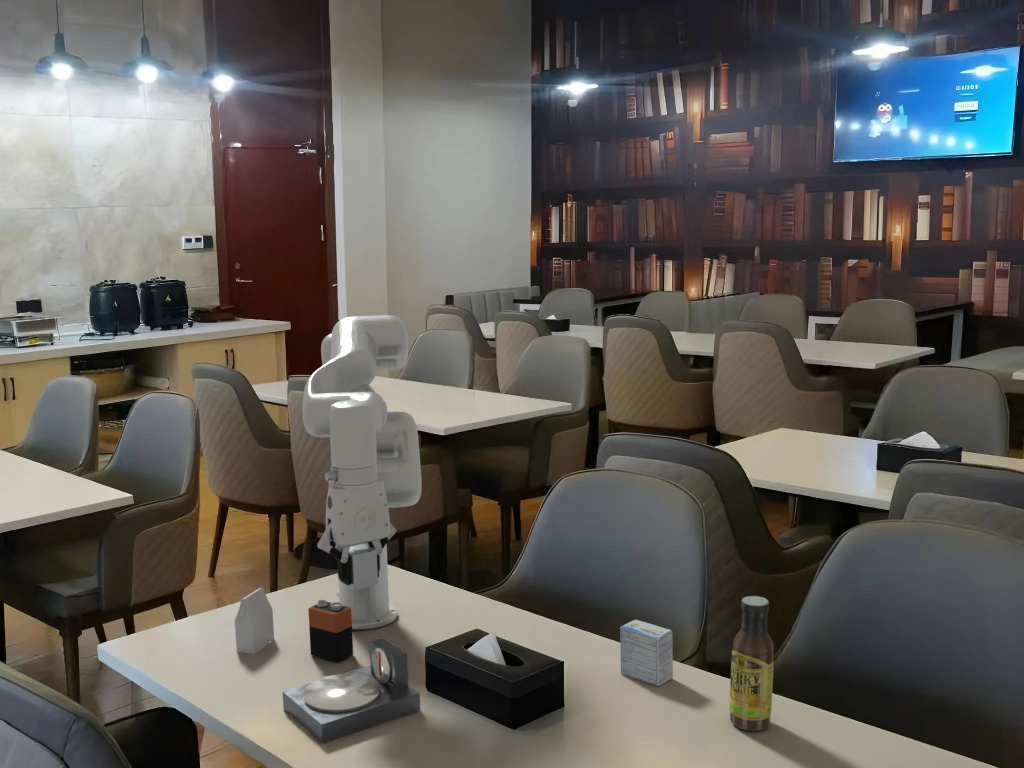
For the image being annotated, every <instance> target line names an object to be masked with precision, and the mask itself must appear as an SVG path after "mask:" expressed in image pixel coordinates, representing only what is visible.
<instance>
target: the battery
mask: <svg viewBox="0 0 1024 768" xmlns="http://www.w3.org/2000/svg"><path fill="white" fill-rule="evenodd" d="M308 626H309V627H308V628H309V644H310V645H309V647H310V656H312V657H315V656H316V657H315V658H319V657H320V658H319V659H322V658H323V660H326V659H327V660H326V661H329V660H330V662H333V661H334V663H337V662H339V663H341V662H342V661H344V660H346V659H348V658H350V657H351V656H353V655H354V640H353V637H354V636H353V629H352V614H351V608H350V607H348V606H344V605H343V604H342V603H341V602H339V601H334V602H331V601H327V600H326V599H318V600H317V604H314V605H312V606H310V607H309V608H308ZM340 661H341V662H340Z"/></svg>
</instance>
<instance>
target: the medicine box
mask: <svg viewBox="0 0 1024 768" xmlns="http://www.w3.org/2000/svg"><path fill="white" fill-rule="evenodd" d="M619 629H620V632H619V633H620V634H619V635H620V636H619V637H620V638H619V639H620V674H621V675H623V676H627V677H629V678H633V679H635V680H638V681H641V682H644V683H647V684H650V685H653V686H656V687H660V686H662V685H664V684H665V683H667V682H668V681H670V680H672V679H673V677H674V669H673V665H674V664H673V663H674V662H673V661H674V659H673V658H674V657H673V655H674V654H673V653H674V651H673V650H674V649H673V642H674V641H673V640H674V639H673V630H671V629H669V628H665V627H662V626H658V625H655V624H653V623H648V622H646V621H642V620H639V619H634V620H631V621H629V622H627V623H625V624H624V625H622V626H620V628H619Z"/></svg>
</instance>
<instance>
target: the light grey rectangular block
mask: <svg viewBox="0 0 1024 768" xmlns="http://www.w3.org/2000/svg"><path fill="white" fill-rule="evenodd" d="M348 561H349V562H350V563H351V582H352V583H351V585H346V584H345V583H343V582H342V583H343V584H344V585H346V586H348V587H349V588H351V589H353V590H357V589H361V588H365V587H369V586H373V585H377V584H378V574H377V550H375V549H373V548H371V547H369V546H367V545H366V544H360V545H355V546H351V547H350V549H349V555H348Z"/></svg>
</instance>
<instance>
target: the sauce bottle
mask: <svg viewBox="0 0 1024 768" xmlns="http://www.w3.org/2000/svg"><path fill="white" fill-rule="evenodd" d="M740 603H741V604H740V609H741V623H740V630H739V631H738V632H737V634H735V637H734V639H733V643H732V650H731V662H730V663H731V664H730V665H731V666H730V684H729V688H730V689H729V711H730V713H729V715H730V716H729V721H730V722H731V723H732V724H733V725H734V726H735V727H737V728H739V729H740V730H741V729H742V730H745V731H749V732H761V731H764V730H766V729H768V728H769V727H770V724H771V715H772V703H773V702H772V701H773V686H774V685H773V681H774V664H775V663H774V662H775V659H774V653H775V651H774V650H775V646H774V645H775V644H774V641H773V638H772V636H771V635H770V633H769V632H768V614H769V612H770V611H769V609H770V602H769V600H768V599H767V598H765V597H762V596H759V595H752V596H751V595H749V596H745V597H742V599H741V601H740Z"/></svg>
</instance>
